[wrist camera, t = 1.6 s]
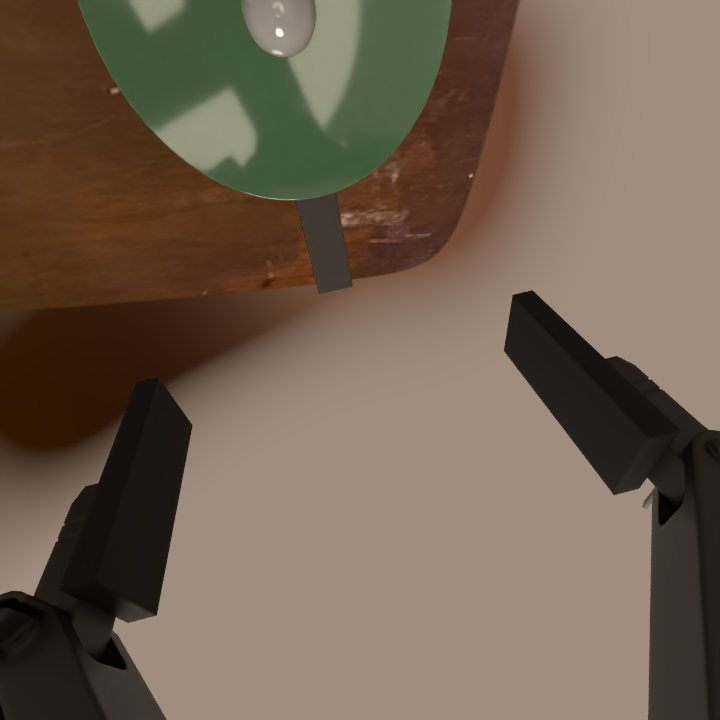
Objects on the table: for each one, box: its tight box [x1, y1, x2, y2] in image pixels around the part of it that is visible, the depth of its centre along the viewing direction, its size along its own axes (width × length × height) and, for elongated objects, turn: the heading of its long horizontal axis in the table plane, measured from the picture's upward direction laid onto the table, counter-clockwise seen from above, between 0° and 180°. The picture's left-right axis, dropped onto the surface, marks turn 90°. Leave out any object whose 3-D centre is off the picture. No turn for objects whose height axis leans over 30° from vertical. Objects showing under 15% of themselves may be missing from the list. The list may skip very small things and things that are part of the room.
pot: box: [78, 0, 452, 294], centre depth 18 cm, size 19×13×13 cm, turn 8°
